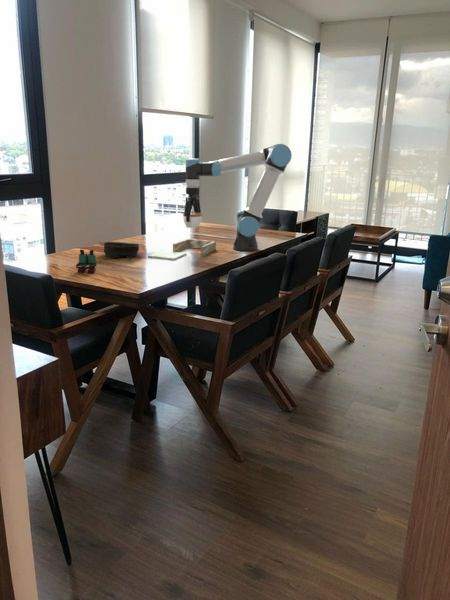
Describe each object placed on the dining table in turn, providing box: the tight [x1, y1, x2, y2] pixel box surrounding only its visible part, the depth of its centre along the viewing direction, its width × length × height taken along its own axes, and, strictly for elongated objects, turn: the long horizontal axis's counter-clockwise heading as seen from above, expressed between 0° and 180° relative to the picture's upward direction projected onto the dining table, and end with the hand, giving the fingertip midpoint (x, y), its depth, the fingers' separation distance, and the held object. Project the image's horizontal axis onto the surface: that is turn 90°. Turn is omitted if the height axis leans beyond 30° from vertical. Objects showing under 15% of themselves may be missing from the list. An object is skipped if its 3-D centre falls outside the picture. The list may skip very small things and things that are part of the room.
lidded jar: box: [182, 210, 203, 229], centre depth 282 cm, size 11×11×9 cm
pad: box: [147, 250, 187, 261], centre depth 276 cm, size 16×16×1 cm
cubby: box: [172, 238, 217, 257], centre depth 291 cm, size 19×20×5 cm
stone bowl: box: [98, 241, 145, 259], centre depth 273 cm, size 25×25×9 cm
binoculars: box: [75, 249, 98, 274], centre depth 235 cm, size 9×11×10 cm
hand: (192, 226), depth 283 cm, fingers closed on lidded jar, 11 cm apart
